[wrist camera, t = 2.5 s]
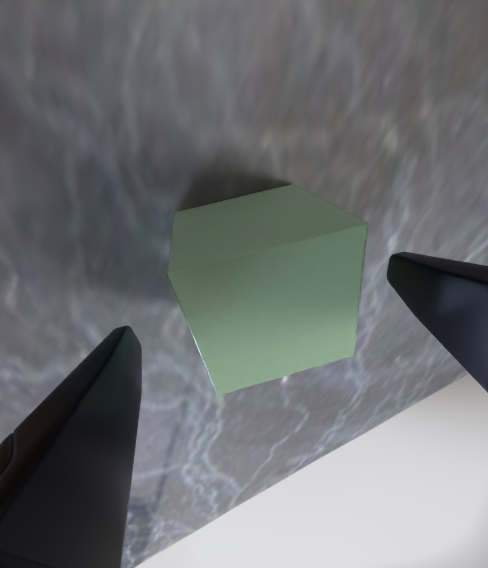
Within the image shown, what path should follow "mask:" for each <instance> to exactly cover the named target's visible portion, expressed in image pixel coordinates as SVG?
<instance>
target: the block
mask: <svg viewBox="0 0 488 568" xmlns="http://www.w3.org/2000/svg"><path fill="white" fill-rule="evenodd" d="M367 226H368V224H367V222H365V221H363V220H362V219H360V218H358V217H356V216H354V215H352V214H350V213H348V212H346V211H344V210H343V209H341V208H339V207H337V206H335V205H333V204H331V203H329V202H327V201H325V200H324V199H322V198H320V197H318V196H316V195H314V194H312V193H310V192H308V191H306V190H305V189H303V188H301V187H299V186H297V185H295V184H291V185H287V186H283V187H278V188H274V189H270V190H266V191H262V192H258V193H253V194H249V195H245V196H241V197H237V198H233V199H228V200H224V201H220V202H216V203H212V204H207V205H203V206H199V207H195V208H191V209H187V210H182V211H178V212H175V213H174V222H173V230H172V238H171V247H170V255H169V263H168V272H167V276H168V278H169V280H170V283H171V285H172V288H173V290H174V292H175V295H176V297H177V300H178V302H179V304H180V307H181V309H182V312H183V314H184V316H185V319H186V321H187V324H188V326H189V328H190V331H191V333H192V336H193V338H194V340H195V343H196V345H197V348H198V350H199V352H200V355H201V357H202V360H203V362H204V364H205V367H206V369H207V372H208V374H209V376H210V379H211V381H212V384H213V386H214V388H215V391H216V393H217V395H222V394H225V393H228V392H232V391H235V390H239V389H242V388H245V387H249V386H252V385H256V384H259V383H262V382H266V381H269V380H273V379H276V378H279V377H283V376H286V375H290V374H293V373H296V372H300V371H303V370H307V369H310V368H313V367H317V366H320V365H324V364H327V363H331V362H334V361H337V360H341V359H344V358H348V357H351V356H353V355H354V348H355V339H356V330H357V320H358V311H359V301H360V292H361V282H362V273H363V264H364V254H365V245H366V235H367Z"/></svg>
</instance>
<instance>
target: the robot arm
mask: <svg viewBox="0 0 488 568" xmlns="http://www.w3.org/2000/svg"><path fill="white" fill-rule="evenodd" d="M387 279H388V281H389V283H390V284H391V285H392V287H393V288H394V289H395V291H396V292H397V293H398V295H399V296H400V297H401V298H402V300H403V301H404V302H405V304H406V305H407V306H408V308H409V309H410V310H411V311H412V313H413V314H414V315H415V316H416V317H417V318H418V319H419V321H420V322H421V323H422V324H423V325H424V326H425V327H426V328H427V329H428V330H429V331H430V332H431V333H432V334H433V335H434V336H435V337H436V339H437V340H438V341H439V342H440V343H441V344H442V345H443V346H444V347H445V348H446V349H447V350H448V351H449V352H450V353H451V354H452V355H453V356H454V358H455V359H456V360H457V361H458V362H459V363H460V364H461V365H462V366H463V367H464V368H465V369H466V370H467V371H468V372H469V373H470V374H471V375H472V377H474V379H475V380H476V381H477V382H478V383H479V384H480V385H481V386H482V387H483V388H484V389H485V390H486V391H487V392H488V266H484V265H478V264H473V263H467V262H461V261H455V260H450V259H444V258H438V257H432V256H426V255H421V254H415V253H409V252H400V253H396V254H393V255H392V256H391V257H390V259H389V265H388V270H387ZM141 390H142V349H141V344H140V342H139V340H138V339H137V337H136V335H135V334H134V332H133V330H132V329H131V327H130V326H123V327H119V328H116V329H114V330H113V331H112V332H111V333H110V334H109V335H108V336H107V337H106V338H105V339H104V340H103V341H102V342H101V343H100V344H99V345H98V346H97V347H96V348H95V349H94V350H93V351H92V352H91V353H90V354H89V355H88V356H87V357H86V358H85V359H84V360H83V361H82V362H81V363H80V364H79V365H78V366H77V367H76V368H75V369H74V370H73V371H72V372H71V373H70V374H69V375H68V376H67V377H66V378H65V379H64V380H63V381H62V382H61V383H60V384H59V385H58V386H57V387H56V388H55V389H54V390H53V391H52V392H51V393H50V394H49V395H48V396H47V398H46V399H45V400H44V401H43V402H42V403H41V404H40V405H39V406H38V407H37V408H36V409H35V410H34V411H33V412H32V413H31V414H30V415H29V416H28V417H27V418H26V419H25V420H24V421H23V422H22V423H21V424H20V425H19V426H18V427H17V428H16V429H15V430H14V432H13V433H11V434H10V435H9V436H8V437H7V438H6V439H5V440H4V441H3V442H2V443H1V444H0V568H121V564H122V555H123V547H124V538H125V530H126V521H127V513H128V504H129V496H130V487H131V479H132V470H133V462H134V453H135V445H136V436H137V428H138V419H139V411H140V402H141Z"/></svg>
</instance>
